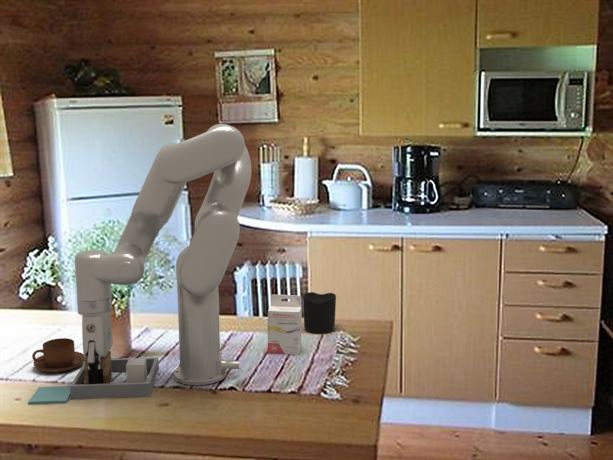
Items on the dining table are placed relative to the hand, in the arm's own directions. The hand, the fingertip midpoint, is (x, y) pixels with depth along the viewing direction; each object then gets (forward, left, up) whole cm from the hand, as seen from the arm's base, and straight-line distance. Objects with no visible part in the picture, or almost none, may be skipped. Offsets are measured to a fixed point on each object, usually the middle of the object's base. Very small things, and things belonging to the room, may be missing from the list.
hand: (98, 380), depth 160 cm
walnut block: (0, 0, -1) cm, 1 cm away
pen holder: (-55, -35, -1) cm, 65 cm away
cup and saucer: (+12, -12, -1) cm, 17 cm away
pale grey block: (-9, -1, -1) cm, 9 cm away
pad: (+9, +6, -1) cm, 11 cm away
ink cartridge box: (-44, -18, -1) cm, 48 cm away
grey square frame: (-4, 0, -1) cm, 4 cm away
